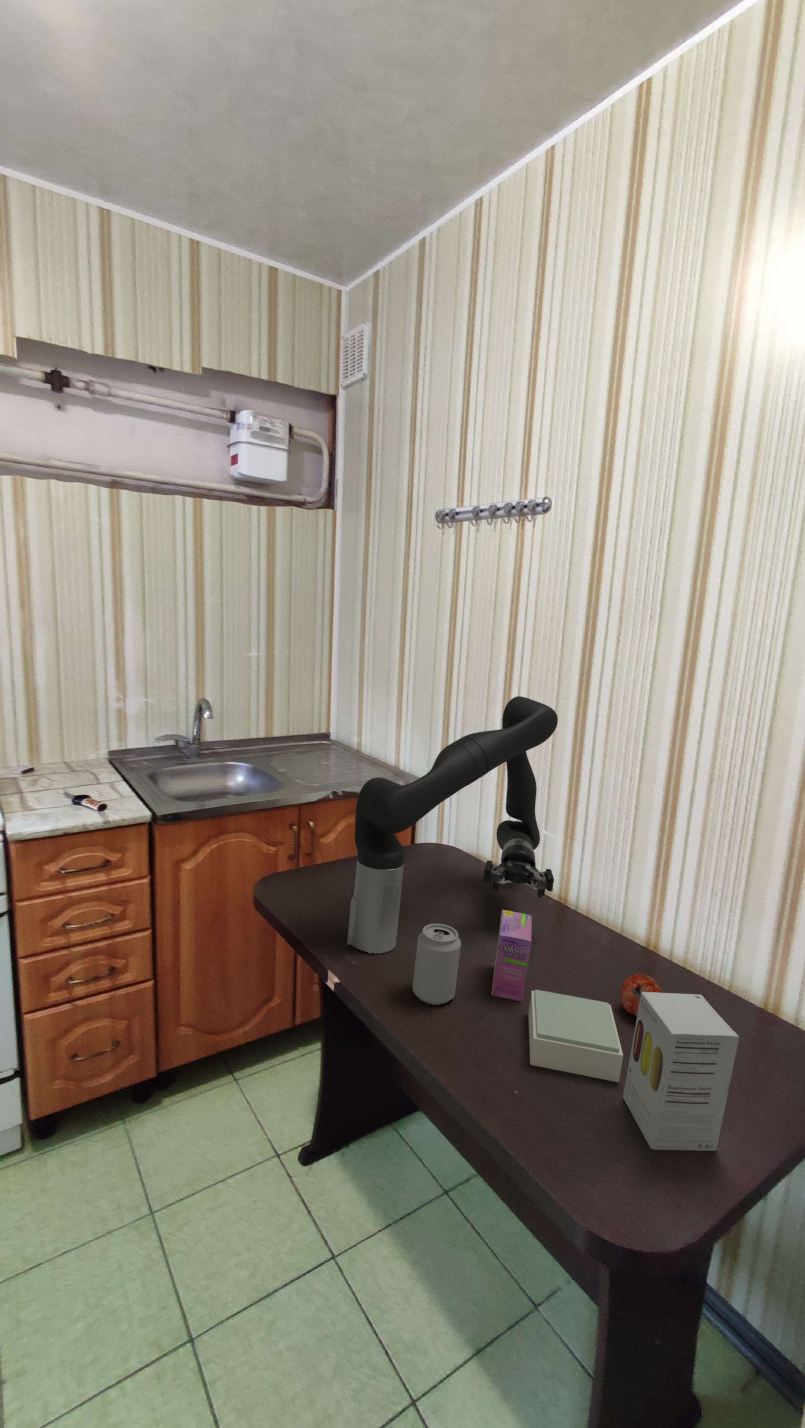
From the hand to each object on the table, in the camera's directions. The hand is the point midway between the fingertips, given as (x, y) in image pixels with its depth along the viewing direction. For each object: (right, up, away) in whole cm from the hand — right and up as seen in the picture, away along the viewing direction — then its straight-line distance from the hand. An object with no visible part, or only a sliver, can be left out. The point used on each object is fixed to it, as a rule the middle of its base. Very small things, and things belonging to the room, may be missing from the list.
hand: (518, 890), depth 128 cm
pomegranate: (+19, -18, -14) cm, 30 cm away
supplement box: (+13, -21, -40) cm, 47 cm away
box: (-3, -15, -9) cm, 18 cm away
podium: (+4, -18, -25) cm, 31 cm away
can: (-18, -15, -15) cm, 27 cm away
